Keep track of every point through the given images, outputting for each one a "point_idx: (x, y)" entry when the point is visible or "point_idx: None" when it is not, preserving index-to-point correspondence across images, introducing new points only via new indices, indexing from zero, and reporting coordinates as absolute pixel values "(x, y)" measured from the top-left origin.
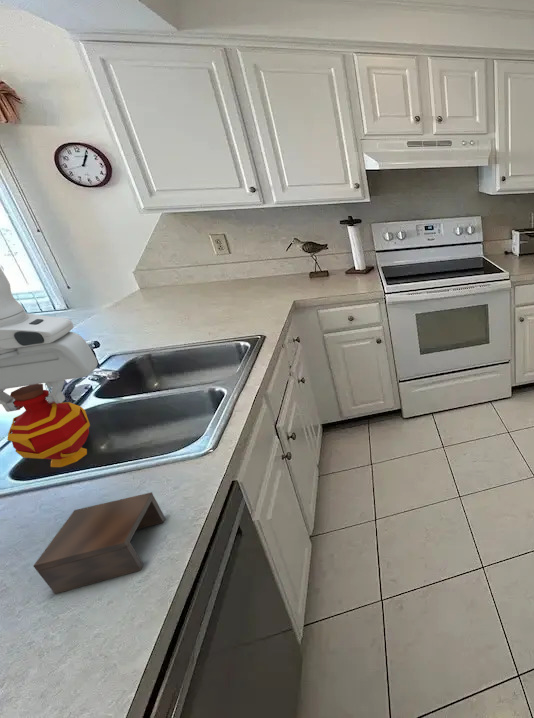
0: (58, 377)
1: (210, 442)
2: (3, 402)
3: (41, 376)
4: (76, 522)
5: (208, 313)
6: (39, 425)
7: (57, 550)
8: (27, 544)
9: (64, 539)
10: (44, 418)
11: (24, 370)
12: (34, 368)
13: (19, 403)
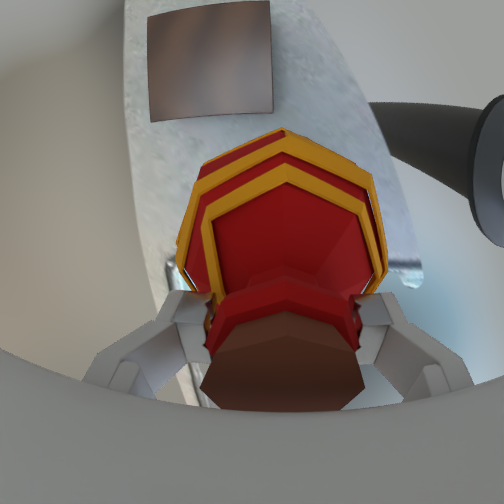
0: (15, 376)
1: (180, 284)
2: (400, 328)
3: (67, 429)
4: (250, 75)
5: None
6: (249, 185)
7: (247, 19)
8: (363, 136)
9: (249, 39)
10: (234, 219)
11: None
12: (49, 502)
13: (311, 294)
